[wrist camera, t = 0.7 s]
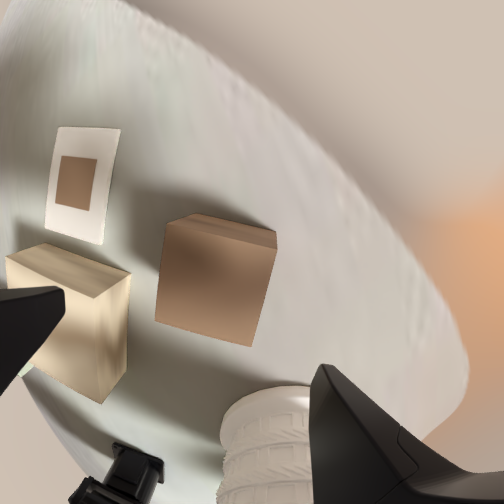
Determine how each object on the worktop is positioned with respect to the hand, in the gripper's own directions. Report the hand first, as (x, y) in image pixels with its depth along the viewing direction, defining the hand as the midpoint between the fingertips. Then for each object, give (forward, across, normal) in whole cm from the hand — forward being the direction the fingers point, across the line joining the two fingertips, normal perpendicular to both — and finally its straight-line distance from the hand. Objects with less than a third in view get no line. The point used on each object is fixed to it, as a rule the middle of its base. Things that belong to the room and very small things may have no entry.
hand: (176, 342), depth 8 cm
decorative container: (+10, -8, +14) cm, 19 cm away
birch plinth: (+10, +11, +7) cm, 16 cm away
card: (+10, +12, -3) cm, 16 cm away
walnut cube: (+10, 0, 0) cm, 10 cm away
